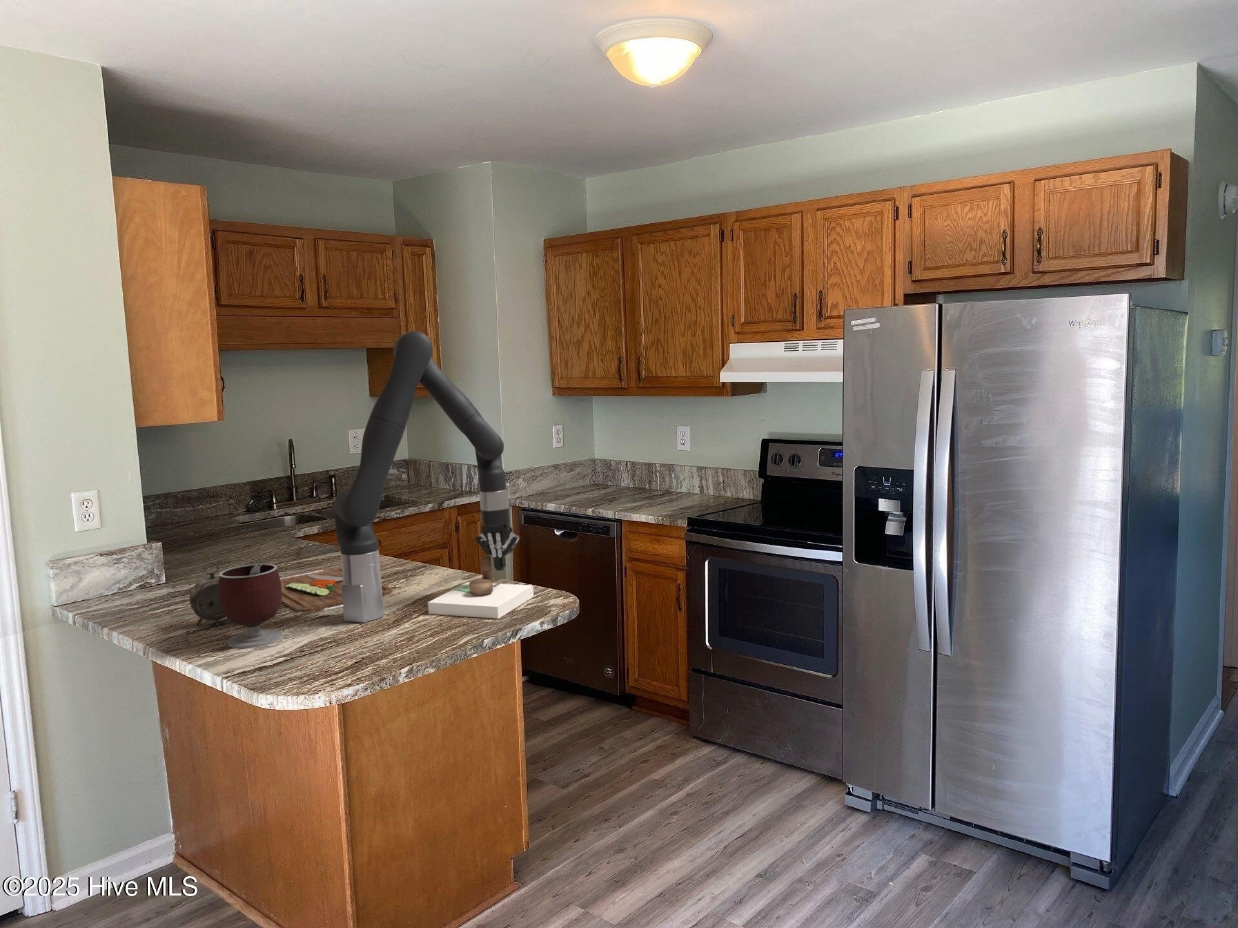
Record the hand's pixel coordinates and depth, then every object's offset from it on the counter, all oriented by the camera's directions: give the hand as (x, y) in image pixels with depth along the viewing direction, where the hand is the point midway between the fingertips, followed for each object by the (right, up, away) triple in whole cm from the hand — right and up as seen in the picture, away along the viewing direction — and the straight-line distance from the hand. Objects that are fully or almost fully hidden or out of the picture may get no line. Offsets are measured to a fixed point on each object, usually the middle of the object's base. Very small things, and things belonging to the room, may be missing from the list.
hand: (500, 569), depth 244 cm
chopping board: (-53, -8, +17) cm, 57 cm away
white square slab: (-4, -8, -7) cm, 12 cm away
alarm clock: (-71, -13, -12) cm, 73 cm away
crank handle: (-4, -4, -4) cm, 7 cm away
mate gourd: (-55, -14, -28) cm, 63 cm away
